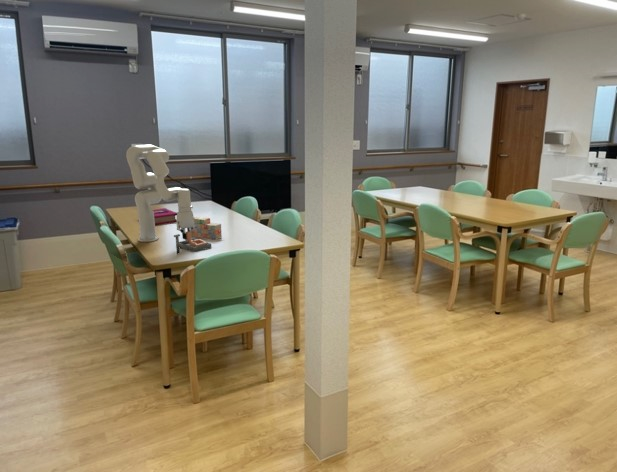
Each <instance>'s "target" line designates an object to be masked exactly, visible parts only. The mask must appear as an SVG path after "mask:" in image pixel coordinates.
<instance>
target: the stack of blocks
mask: <svg viewBox="0 0 617 472" xmlns="http://www.w3.org/2000/svg"><path fill="white" fill-rule="evenodd" d="M194 224H195V227H194V228H193V229H192V231H191V237H197V238H203V239H208V240H209V239H210V240H218V239H221V238H222V237H223V236H222V235H223V234H222V224H221V223H217V222H216V223H215V222H211V218H210V217H201V216H194Z"/></svg>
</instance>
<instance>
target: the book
mask: <svg viewBox="0 0 617 472" xmlns="http://www.w3.org/2000/svg"><path fill="white" fill-rule="evenodd" d="M153 212H154V220H155V226H159V225H158V224H160V225H166V224H165V223H167V224H173V223H172V222H174V223H177V218H176V217H177V212H176V211H173V210H170V209H168V208H165V207H162V208H157V209H155V208H154V209H153Z"/></svg>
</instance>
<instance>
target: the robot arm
mask: <svg viewBox="0 0 617 472" xmlns="http://www.w3.org/2000/svg"><path fill="white" fill-rule="evenodd" d="M125 157H126V161H127V163H128V166H129V168H130V173H131V177H132V182H133V185H134V187H135V188H136V189H137V190H140V191H138V192H137V193H136V194H135V196H134V202H135V205H136V209H137V215H138V216H137V218H138V226H139V233H138V235H140V236H139V237H138V238H137V240H138V242H141V243H142V242H144V243H147V242H154V241H157V240H159V236H158V235H157V232H156V225H155V220H154V212H153V210H154V209H153V208H152V206H153V205H156V204H159V203H161V201H162V200H163V201H164V202H172V201H177V207H178V209H177V210H178V211H177V212H176V213H177V215H176V220H177V222H176V227H177V228H176V231H179V232H180V233H181V235H182V240H184V241H185V240H186V239H187V237H186V232H188V231H190V232H191V231H192V229H193V228H194V227H195V224H194V217H195V216H194V213H193V210H192V209H193V208H194V207H193V205H192V201H191V190H190V189H189V188H181V187H178V186H174V187H170V188H168V187H167V185H166V183H165V177H167V176H168V175H169V174H170V169H169V167H168V166H167V164H166V163H168V162H169V160H170V155H169V152H168V151H167V150H165V149H164V148H162V147H158V146H156V145H153V144H138V145H137V144H136V145H131V146H130V147H128V149H127V150H126V154H125ZM141 159H142V160H144V159H146V160H147V162H148V164H149V166H150V167H151V169H152V171H153V172H147V171H146V167H145V165H144V163H143V162H142V161H141ZM143 189H146V190H143Z"/></svg>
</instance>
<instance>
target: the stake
mask: <svg viewBox="0 0 617 472" xmlns="http://www.w3.org/2000/svg"><path fill="white" fill-rule="evenodd" d="M180 237H181V234H174V235H173V238H175V248H176V254H177V253H181V252H180V249H181V248H179V242H180V239H179V238H180Z"/></svg>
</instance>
